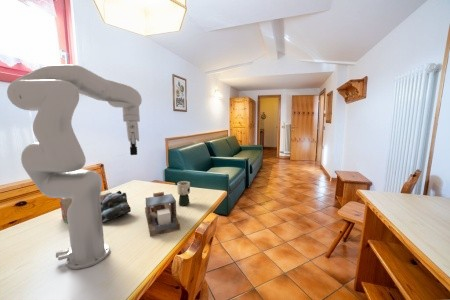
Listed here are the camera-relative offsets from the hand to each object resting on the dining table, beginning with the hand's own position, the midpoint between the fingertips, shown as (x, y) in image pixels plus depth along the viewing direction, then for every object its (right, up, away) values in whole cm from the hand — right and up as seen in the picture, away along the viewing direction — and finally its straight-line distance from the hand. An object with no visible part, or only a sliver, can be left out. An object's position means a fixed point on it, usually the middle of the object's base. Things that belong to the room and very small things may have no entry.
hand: (133, 154), depth 101 cm
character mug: (+23, -30, +14) cm, 40 cm away
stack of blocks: (-25, -31, +3) cm, 40 cm away
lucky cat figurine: (-9, -32, -2) cm, 33 cm away
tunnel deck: (+16, -32, -6) cm, 36 cm away
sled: (+18, -30, -9) cm, 36 cm away
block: (+20, -31, -14) cm, 39 cm away
